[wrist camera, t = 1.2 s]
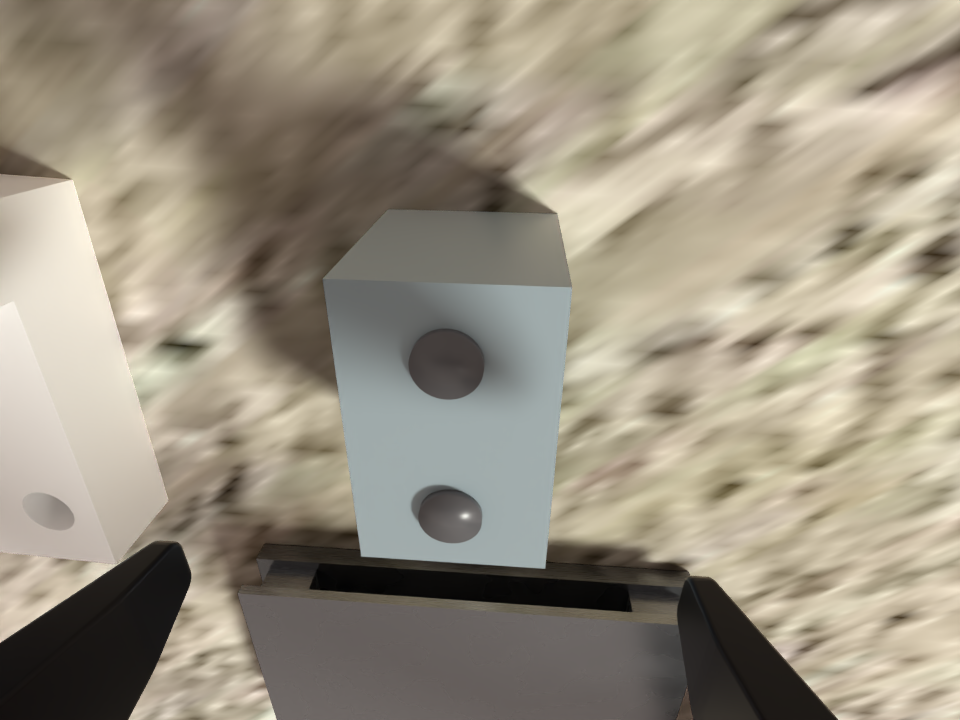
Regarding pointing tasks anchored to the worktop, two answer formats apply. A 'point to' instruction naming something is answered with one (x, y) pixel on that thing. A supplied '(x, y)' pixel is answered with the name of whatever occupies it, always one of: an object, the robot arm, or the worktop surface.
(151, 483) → the bracket
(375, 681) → the stand
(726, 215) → the worktop surface
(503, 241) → the housing
